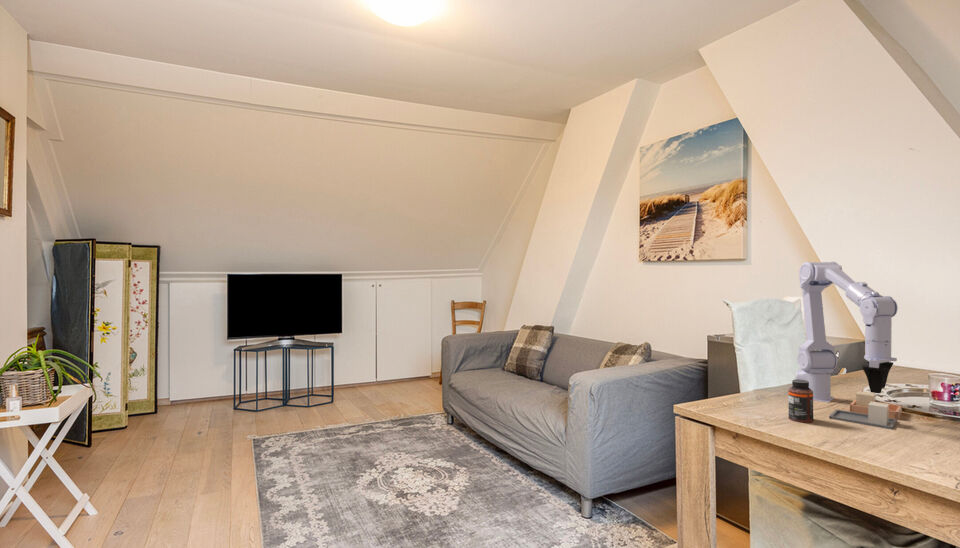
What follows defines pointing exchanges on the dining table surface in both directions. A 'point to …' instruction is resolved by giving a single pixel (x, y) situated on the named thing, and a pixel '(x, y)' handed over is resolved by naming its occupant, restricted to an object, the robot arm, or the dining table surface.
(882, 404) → the cream cube on tray
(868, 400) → the tan cube
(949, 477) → the dining table surface
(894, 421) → the parts tray
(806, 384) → the supplement bottle
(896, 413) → the terracotta dish
